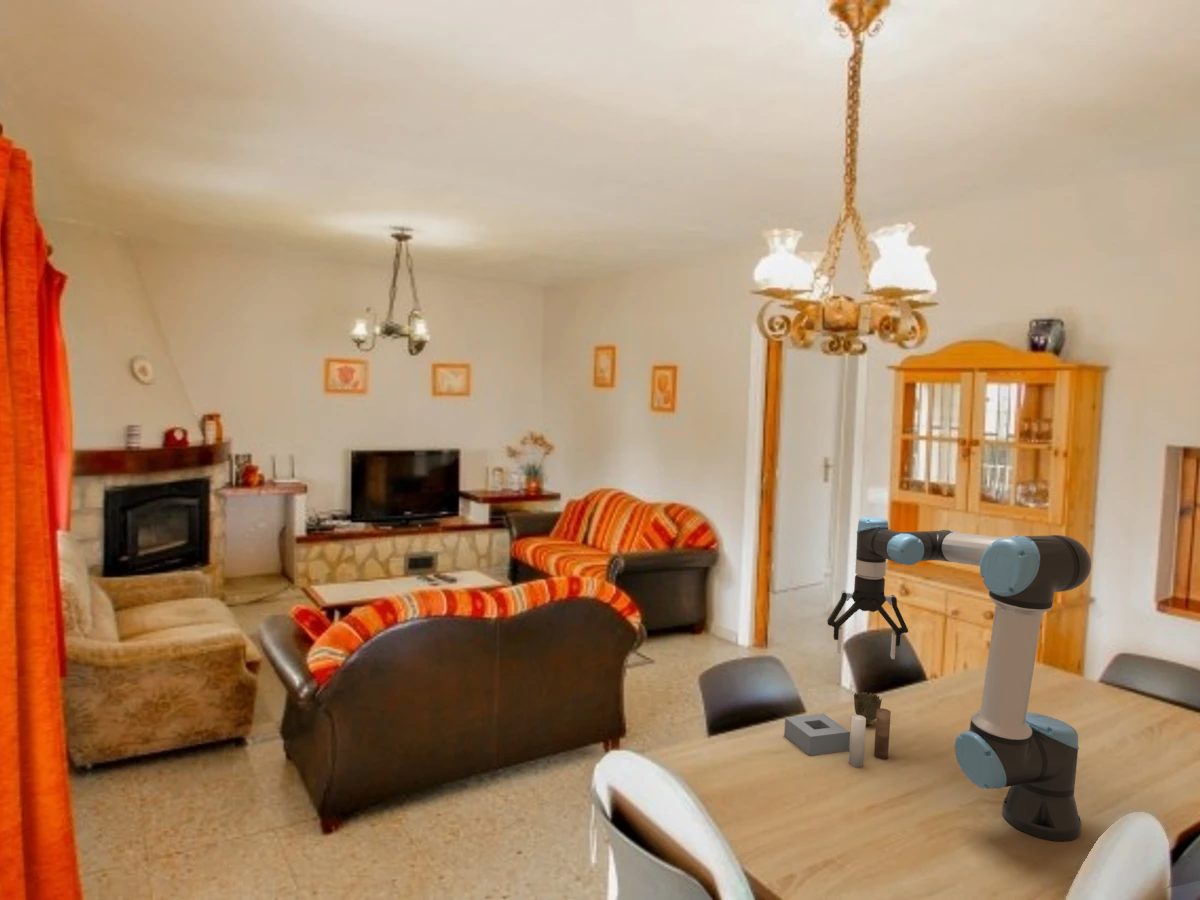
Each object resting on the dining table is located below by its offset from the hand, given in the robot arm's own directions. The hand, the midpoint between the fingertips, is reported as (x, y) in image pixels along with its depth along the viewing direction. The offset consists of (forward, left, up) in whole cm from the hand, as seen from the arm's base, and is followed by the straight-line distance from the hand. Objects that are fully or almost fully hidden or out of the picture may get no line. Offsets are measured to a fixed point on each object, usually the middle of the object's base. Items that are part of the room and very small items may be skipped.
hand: (865, 654), depth 211 cm
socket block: (+2, +13, -24) cm, 27 cm away
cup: (+9, -8, -24) cm, 27 cm away
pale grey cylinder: (-11, +10, -24) cm, 28 cm away
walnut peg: (-9, +1, -24) cm, 25 cm away
